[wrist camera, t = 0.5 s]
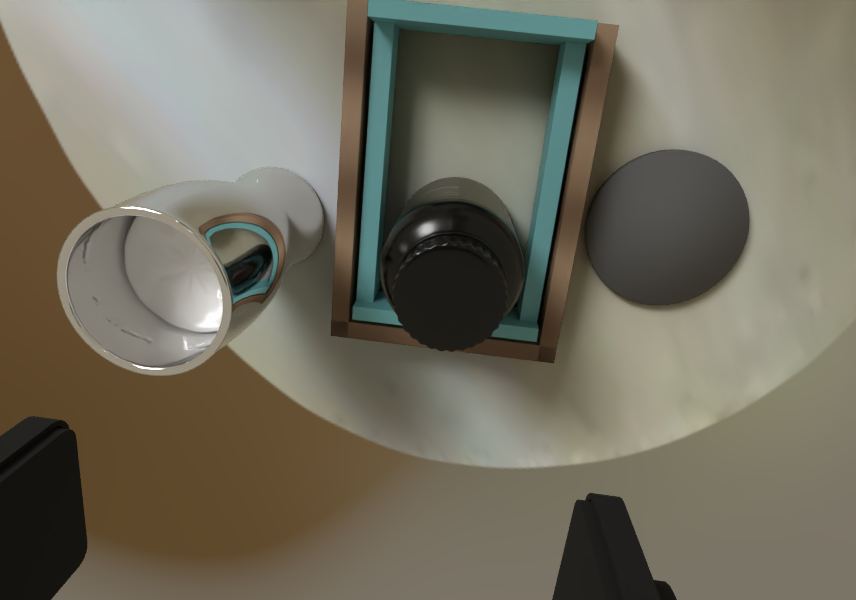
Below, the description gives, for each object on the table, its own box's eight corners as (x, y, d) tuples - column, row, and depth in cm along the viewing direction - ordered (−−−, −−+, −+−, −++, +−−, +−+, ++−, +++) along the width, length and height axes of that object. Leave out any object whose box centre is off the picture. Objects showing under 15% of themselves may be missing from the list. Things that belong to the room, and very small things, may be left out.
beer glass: (355, 226, 35) (275, 312, 21) (274, 293, 37) (150, 413, 23) (276, 133, 34) (134, 158, 19) (196, 207, 35) (12, 279, 21)
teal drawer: (381, 10, 31) (368, -3, 27) (581, 30, 30) (597, 20, 26) (362, 300, 36) (348, 325, 32) (531, 321, 36) (538, 349, 32)
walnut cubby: (359, 6, 31) (347, -3, 28) (605, 32, 31) (619, 25, 28) (341, 317, 37) (330, 335, 34) (547, 343, 37) (553, 363, 34)
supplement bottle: (389, 274, 36) (351, 355, 25) (410, 164, 34) (378, 197, 22) (498, 297, 36) (509, 388, 25) (525, 189, 34) (552, 234, 22)
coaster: (601, 141, 32) (603, 141, 32) (764, 159, 32) (769, 160, 31) (571, 292, 35) (573, 295, 35) (720, 310, 35) (724, 313, 34)
